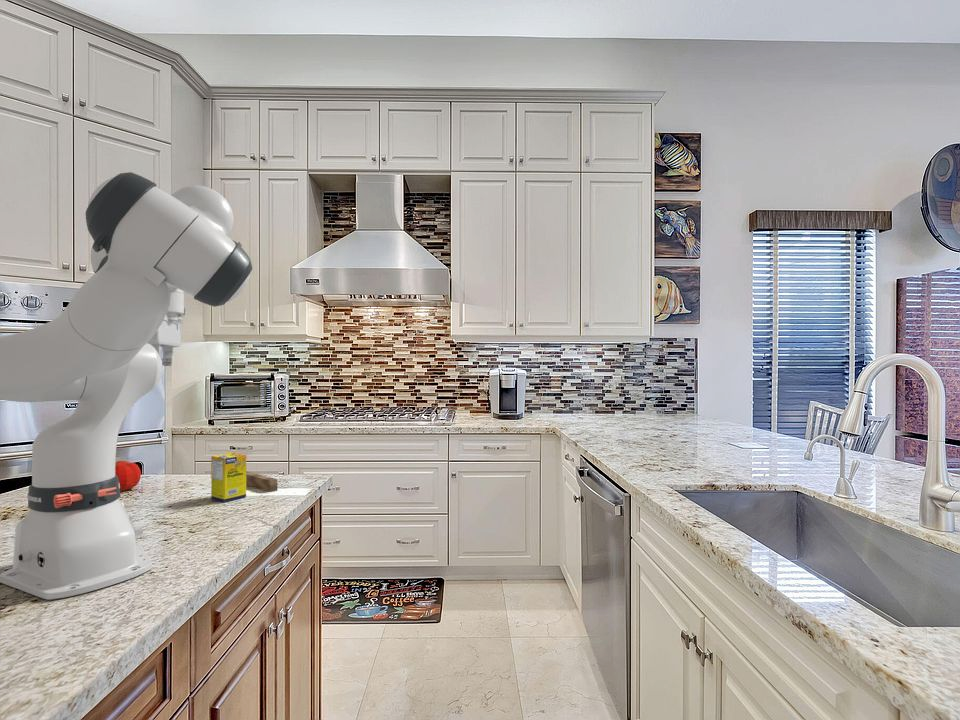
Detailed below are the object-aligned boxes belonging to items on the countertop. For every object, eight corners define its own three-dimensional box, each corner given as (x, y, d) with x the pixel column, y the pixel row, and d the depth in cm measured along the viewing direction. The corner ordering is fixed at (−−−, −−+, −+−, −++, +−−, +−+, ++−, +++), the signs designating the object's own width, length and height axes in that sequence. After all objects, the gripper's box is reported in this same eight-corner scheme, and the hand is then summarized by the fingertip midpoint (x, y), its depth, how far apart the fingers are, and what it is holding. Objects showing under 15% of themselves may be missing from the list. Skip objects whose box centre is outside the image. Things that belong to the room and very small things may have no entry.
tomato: (88, 490, 131) (88, 462, 131) (137, 483, 138) (137, 457, 138) (92, 498, 123) (92, 469, 123) (144, 491, 130) (144, 463, 130)
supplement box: (246, 497, 125) (247, 454, 125) (223, 503, 120) (224, 458, 120) (233, 493, 128) (233, 452, 128) (210, 499, 123) (210, 455, 123)
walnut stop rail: (277, 490, 132) (277, 479, 132) (270, 491, 130) (270, 480, 130) (245, 481, 141) (245, 471, 141) (238, 482, 139) (238, 472, 139)
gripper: (165, 300, 103) (165, 366, 103) (187, 310, 123) (187, 365, 122) (130, 299, 101) (130, 366, 101) (157, 309, 120) (158, 366, 120)
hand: (161, 366), depth 112 cm, fingers open, 8 cm apart
